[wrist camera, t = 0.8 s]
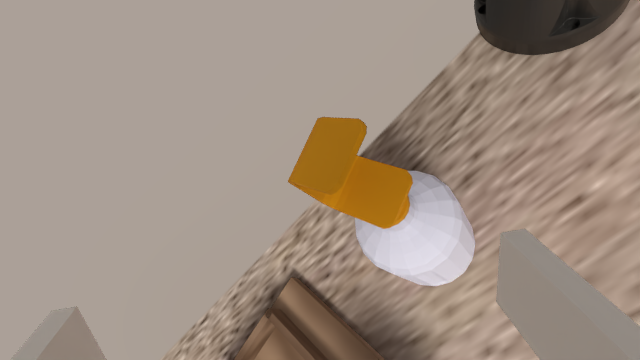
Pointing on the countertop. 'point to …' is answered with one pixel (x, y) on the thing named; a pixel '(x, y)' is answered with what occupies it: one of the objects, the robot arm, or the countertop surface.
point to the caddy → (304, 331)
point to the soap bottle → (386, 205)
